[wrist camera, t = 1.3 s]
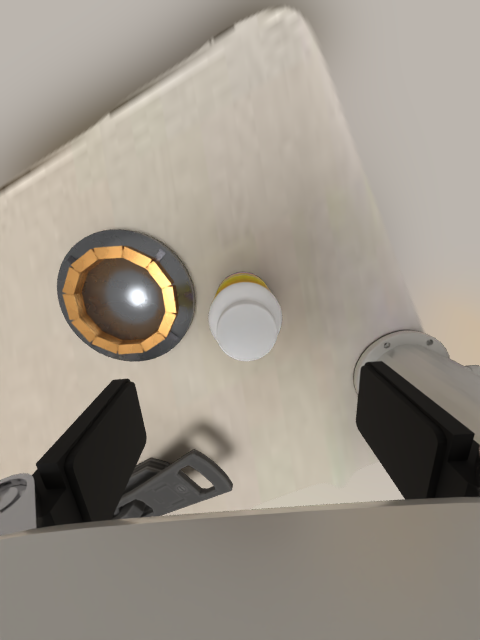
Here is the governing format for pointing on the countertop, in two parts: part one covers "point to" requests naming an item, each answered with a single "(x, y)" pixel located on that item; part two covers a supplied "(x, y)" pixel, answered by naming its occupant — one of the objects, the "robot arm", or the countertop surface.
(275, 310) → the supplement bottle
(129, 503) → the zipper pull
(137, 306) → the rosette plate
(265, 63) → the countertop surface
